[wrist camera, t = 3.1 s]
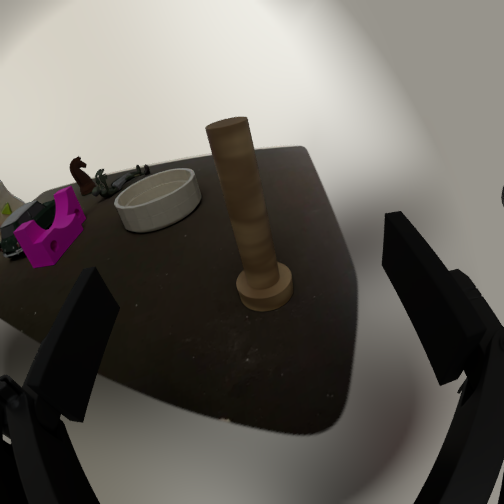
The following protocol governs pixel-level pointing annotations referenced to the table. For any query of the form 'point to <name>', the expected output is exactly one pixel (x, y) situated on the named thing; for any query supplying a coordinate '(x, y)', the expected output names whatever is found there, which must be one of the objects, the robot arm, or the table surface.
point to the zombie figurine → (116, 184)
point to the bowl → (158, 200)
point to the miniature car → (25, 213)
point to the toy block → (52, 231)
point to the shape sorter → (7, 204)
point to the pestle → (248, 216)
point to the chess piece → (81, 176)
